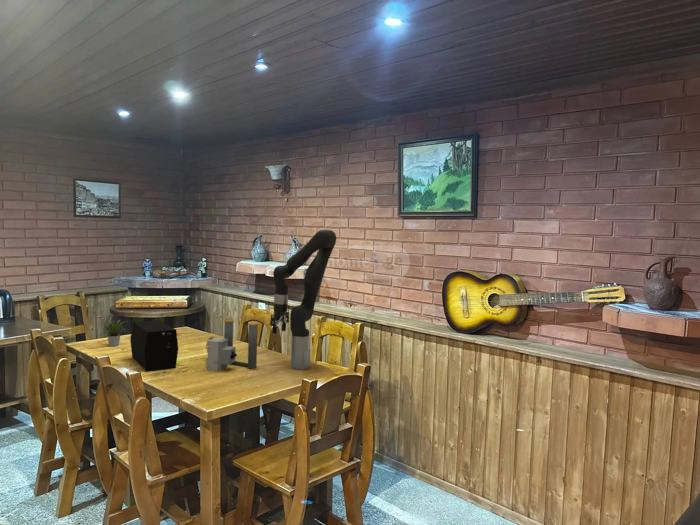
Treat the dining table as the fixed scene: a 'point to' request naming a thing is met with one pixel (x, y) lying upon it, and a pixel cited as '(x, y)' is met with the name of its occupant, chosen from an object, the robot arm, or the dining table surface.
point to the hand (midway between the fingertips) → (279, 332)
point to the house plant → (113, 334)
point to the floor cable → (240, 363)
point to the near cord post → (252, 345)
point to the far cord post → (229, 331)
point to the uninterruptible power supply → (154, 345)
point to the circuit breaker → (219, 354)
